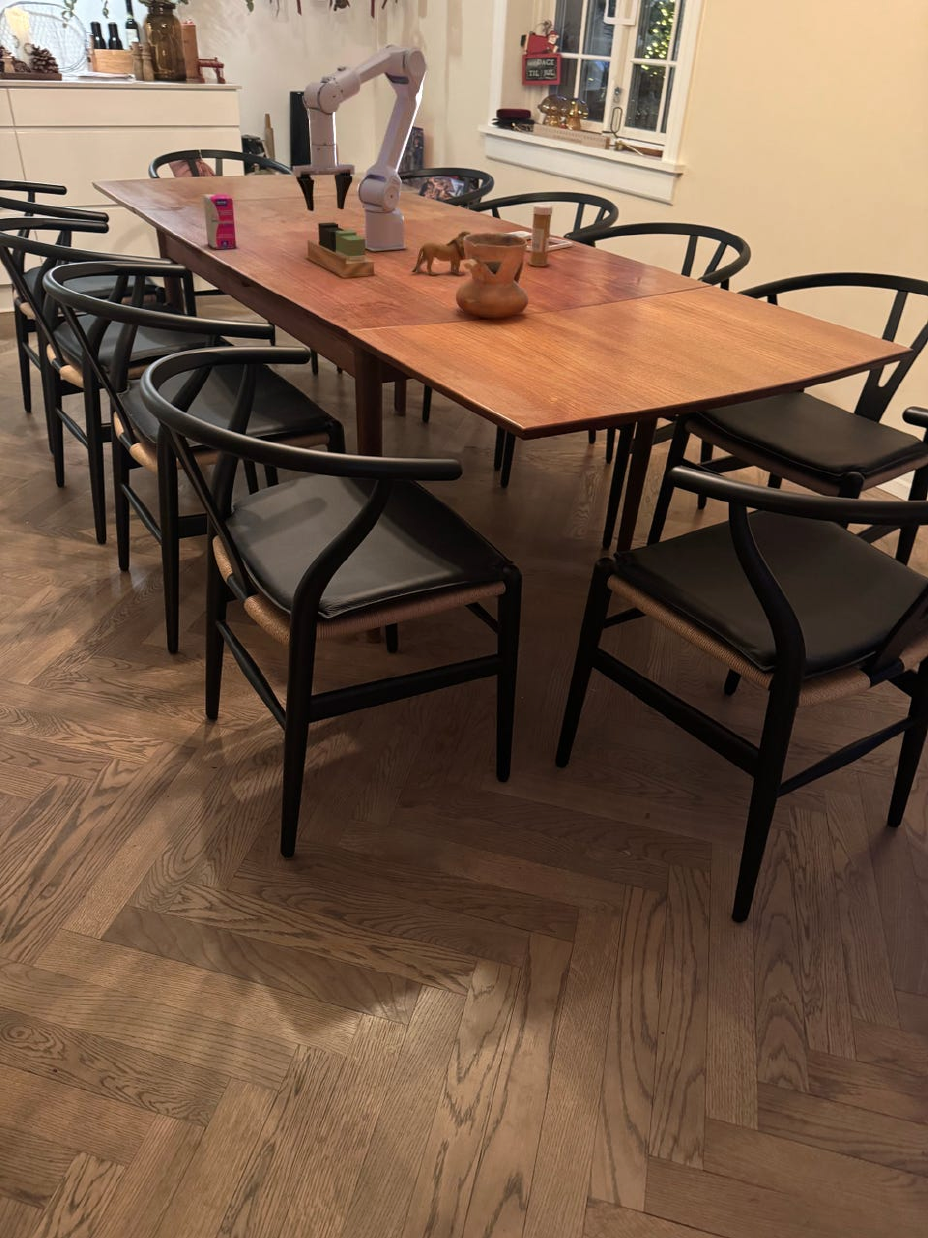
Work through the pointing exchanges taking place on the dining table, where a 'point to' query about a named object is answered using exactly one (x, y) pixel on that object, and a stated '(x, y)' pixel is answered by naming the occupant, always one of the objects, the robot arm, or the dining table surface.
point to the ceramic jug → (493, 275)
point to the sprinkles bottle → (540, 234)
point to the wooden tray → (339, 262)
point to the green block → (350, 245)
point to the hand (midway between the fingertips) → (325, 209)
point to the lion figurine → (443, 254)
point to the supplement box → (219, 221)
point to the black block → (328, 235)
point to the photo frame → (561, 242)
